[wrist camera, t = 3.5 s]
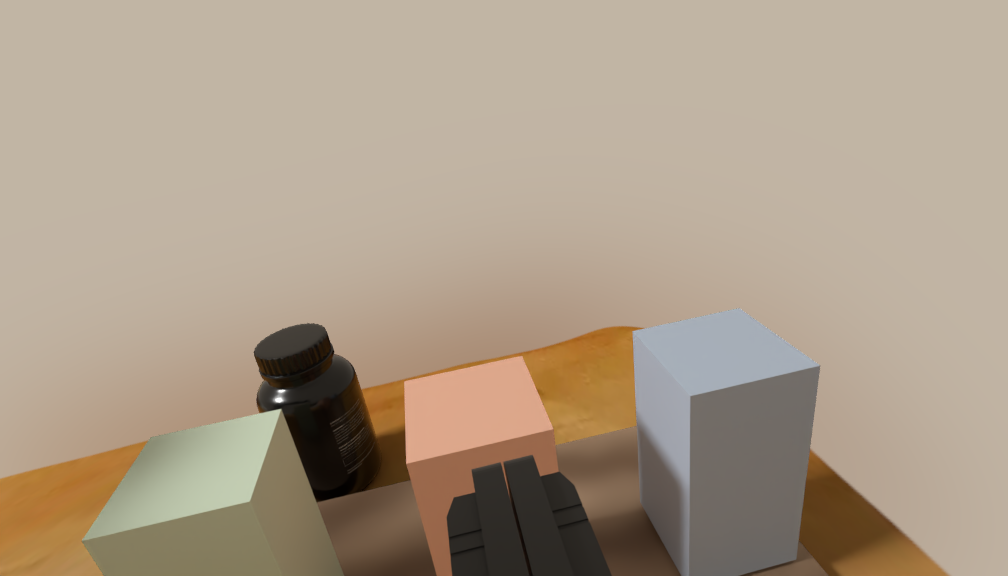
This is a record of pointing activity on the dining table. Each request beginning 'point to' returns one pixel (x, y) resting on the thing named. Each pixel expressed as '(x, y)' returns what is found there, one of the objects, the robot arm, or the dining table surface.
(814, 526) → the dining table surface
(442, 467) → the terracotta block
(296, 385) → the supplement bottle
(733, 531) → the slate block
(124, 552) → the sage block
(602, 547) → the wooden board
